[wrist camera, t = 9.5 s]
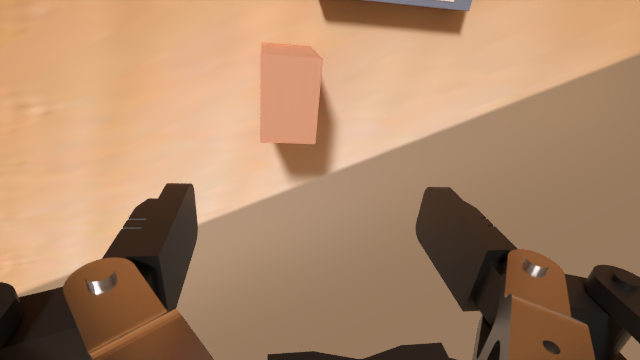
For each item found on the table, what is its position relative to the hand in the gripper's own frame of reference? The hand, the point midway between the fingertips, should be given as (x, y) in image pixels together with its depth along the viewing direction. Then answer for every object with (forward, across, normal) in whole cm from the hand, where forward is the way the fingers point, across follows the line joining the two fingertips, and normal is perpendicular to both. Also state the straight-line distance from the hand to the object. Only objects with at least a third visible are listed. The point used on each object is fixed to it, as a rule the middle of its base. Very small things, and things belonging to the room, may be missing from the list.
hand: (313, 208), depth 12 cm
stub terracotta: (+20, 0, 0) cm, 20 cm away
